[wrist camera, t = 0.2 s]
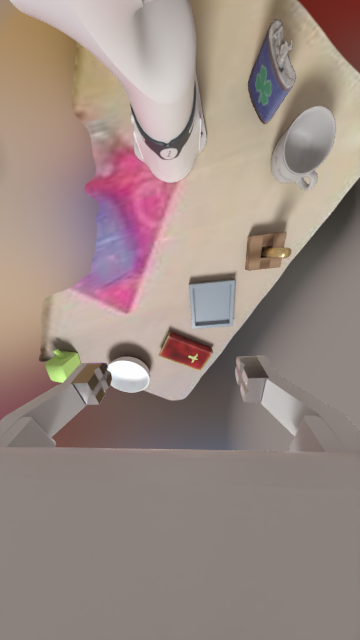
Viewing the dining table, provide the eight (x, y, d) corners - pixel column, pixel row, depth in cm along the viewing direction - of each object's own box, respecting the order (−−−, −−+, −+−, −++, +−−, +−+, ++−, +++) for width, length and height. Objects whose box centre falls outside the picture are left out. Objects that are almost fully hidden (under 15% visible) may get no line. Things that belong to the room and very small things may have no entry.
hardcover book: (169, 330, 64) (168, 335, 60) (211, 347, 67) (213, 353, 63) (159, 350, 69) (158, 356, 65) (199, 365, 72) (200, 371, 68)
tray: (188, 283, 54) (189, 285, 51) (233, 279, 52) (235, 280, 50) (192, 326, 62) (192, 329, 59) (230, 323, 60) (232, 325, 58)
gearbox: (55, 342, 69) (36, 354, 60) (76, 344, 68) (59, 357, 60) (65, 370, 76) (49, 385, 68) (83, 373, 76) (69, 388, 68)
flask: (273, 118, 35) (305, 69, 26) (261, 129, 36) (288, 86, 27) (256, 69, 32) (285, -6, 23) (244, 83, 33) (267, 16, 24)
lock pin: (258, 248, 48) (282, 248, 36) (266, 247, 48) (292, 247, 36) (257, 256, 49) (280, 258, 37) (265, 255, 49) (290, 257, 37)
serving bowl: (107, 373, 76) (100, 384, 70) (117, 344, 67) (110, 353, 61) (144, 386, 80) (140, 398, 73) (158, 360, 71) (156, 371, 65)
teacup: (263, 145, 37) (281, 121, 30) (309, 121, 35) (340, 89, 28) (269, 207, 43) (286, 199, 36) (309, 190, 41) (336, 177, 34)
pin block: (247, 236, 46) (251, 235, 44) (280, 232, 46) (286, 231, 43) (245, 269, 51) (248, 270, 48) (274, 266, 50) (280, 267, 47)
